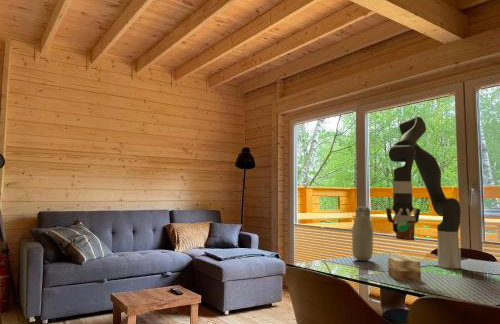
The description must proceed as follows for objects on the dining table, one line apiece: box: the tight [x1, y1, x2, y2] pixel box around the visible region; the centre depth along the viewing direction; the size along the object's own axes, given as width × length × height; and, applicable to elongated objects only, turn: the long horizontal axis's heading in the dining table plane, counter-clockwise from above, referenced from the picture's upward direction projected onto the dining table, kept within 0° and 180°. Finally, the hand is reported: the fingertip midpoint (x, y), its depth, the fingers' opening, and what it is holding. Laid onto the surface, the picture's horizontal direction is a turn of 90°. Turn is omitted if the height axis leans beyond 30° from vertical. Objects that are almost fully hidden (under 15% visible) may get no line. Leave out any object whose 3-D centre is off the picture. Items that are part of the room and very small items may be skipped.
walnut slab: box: [387, 266, 422, 282], centre depth 166 cm, size 10×10×4 cm
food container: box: [392, 214, 416, 241], centre depth 168 cm, size 12×6×10 cm, turn 4°
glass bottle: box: [351, 205, 374, 262], centre depth 207 cm, size 10×10×28 cm
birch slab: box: [387, 256, 421, 272], centre depth 166 cm, size 10×10×4 cm
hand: (403, 232), depth 168 cm, fingers closed on food container, 5 cm apart
